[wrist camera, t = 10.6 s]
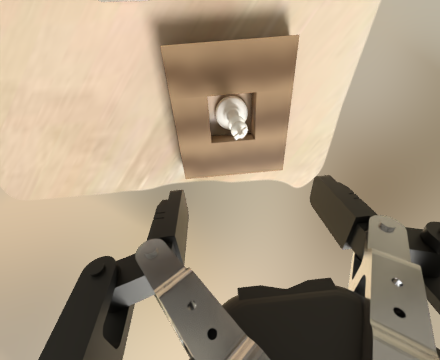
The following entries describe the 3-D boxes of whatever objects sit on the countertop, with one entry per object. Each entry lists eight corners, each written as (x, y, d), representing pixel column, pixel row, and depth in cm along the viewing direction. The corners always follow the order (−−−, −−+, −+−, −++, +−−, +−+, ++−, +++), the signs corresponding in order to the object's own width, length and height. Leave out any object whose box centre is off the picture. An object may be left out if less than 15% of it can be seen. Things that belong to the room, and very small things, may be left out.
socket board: (164, 46, 25) (160, 45, 22) (289, 36, 25) (299, 34, 23) (187, 169, 34) (185, 178, 32) (276, 161, 35) (282, 170, 32)
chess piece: (253, 114, 30) (272, 138, 22) (228, 135, 32) (237, 164, 23) (234, 88, 28) (247, 102, 19) (208, 111, 29) (210, 134, 21)
